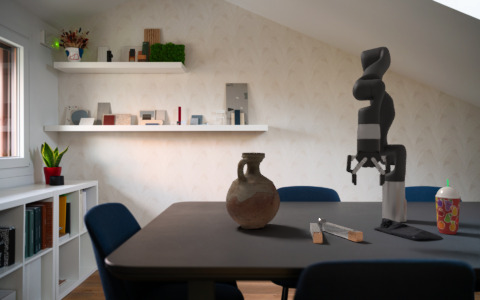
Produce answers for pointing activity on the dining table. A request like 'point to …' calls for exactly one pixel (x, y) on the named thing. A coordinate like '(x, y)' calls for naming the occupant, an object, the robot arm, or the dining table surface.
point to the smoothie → (447, 209)
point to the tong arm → (342, 231)
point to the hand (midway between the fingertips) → (367, 185)
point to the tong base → (317, 230)
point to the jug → (252, 194)
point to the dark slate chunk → (405, 230)
